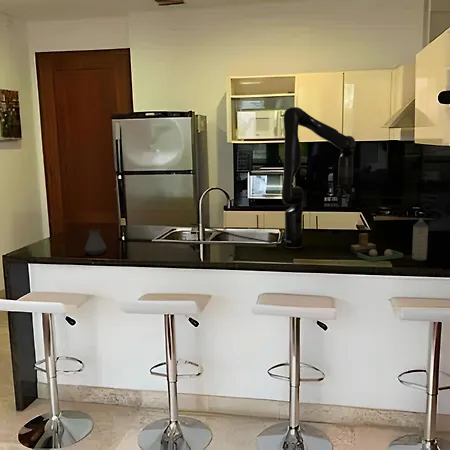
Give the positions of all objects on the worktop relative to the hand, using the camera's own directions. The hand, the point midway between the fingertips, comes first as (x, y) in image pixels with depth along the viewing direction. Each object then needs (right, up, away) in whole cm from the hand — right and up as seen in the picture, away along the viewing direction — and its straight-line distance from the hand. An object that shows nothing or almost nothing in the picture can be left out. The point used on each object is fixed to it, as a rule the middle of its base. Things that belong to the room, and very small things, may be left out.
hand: (344, 206), depth 276 cm
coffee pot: (-132, -24, +19) cm, 136 cm away
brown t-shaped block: (+11, -23, +4) cm, 26 cm away
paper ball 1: (+13, -24, -9) cm, 28 cm away
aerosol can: (+33, -26, -14) cm, 45 cm away
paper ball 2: (+20, -24, -10) cm, 32 cm away
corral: (+16, -25, -8) cm, 31 cm away
